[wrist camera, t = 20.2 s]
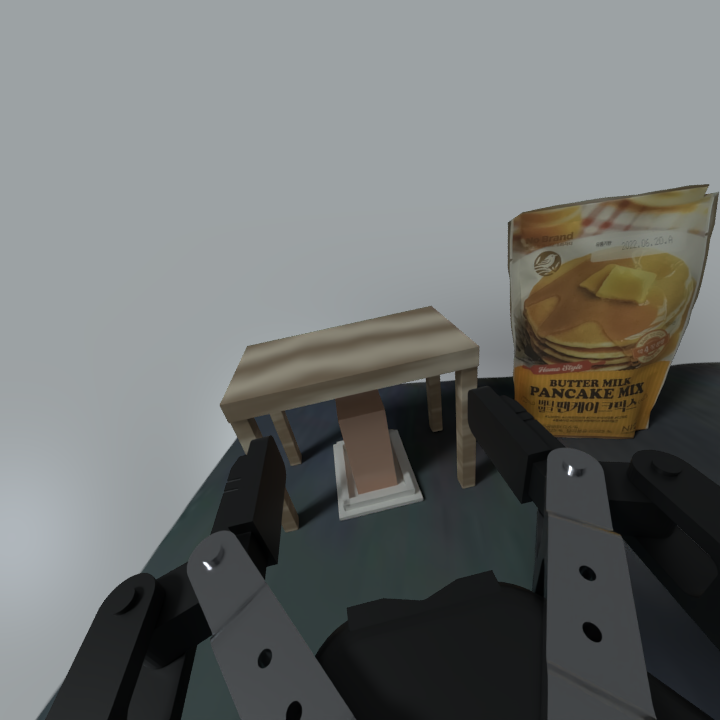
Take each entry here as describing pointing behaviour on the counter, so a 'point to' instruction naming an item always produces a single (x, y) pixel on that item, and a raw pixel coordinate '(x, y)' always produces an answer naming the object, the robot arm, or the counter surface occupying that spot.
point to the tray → (377, 499)
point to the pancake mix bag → (604, 305)
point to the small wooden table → (354, 377)
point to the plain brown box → (367, 440)
